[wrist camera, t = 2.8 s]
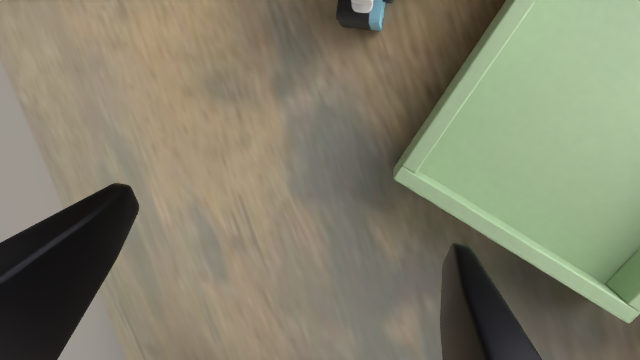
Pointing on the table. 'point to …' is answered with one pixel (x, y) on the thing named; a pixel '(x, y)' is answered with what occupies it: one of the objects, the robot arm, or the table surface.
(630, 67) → the tray
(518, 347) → the robot arm
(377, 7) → the push button
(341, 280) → the table surface
